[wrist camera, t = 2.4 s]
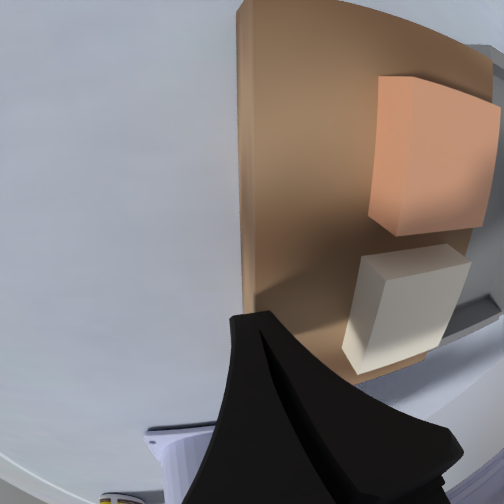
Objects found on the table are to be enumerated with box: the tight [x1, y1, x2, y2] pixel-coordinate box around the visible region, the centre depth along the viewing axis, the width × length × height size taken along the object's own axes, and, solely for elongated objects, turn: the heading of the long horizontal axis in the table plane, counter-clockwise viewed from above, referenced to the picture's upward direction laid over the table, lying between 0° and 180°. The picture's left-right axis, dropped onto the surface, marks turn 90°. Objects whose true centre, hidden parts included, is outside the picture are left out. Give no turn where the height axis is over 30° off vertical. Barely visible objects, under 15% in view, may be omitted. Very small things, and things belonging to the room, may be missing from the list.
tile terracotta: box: [368, 76, 501, 236], centre depth 8 cm, size 4×4×2 cm
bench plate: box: [236, 0, 493, 385], centre depth 11 cm, size 16×10×2 cm, turn 1°
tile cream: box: [342, 244, 472, 375], centre depth 11 cm, size 4×4×2 cm
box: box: [428, 45, 504, 352], centre depth 13 cm, size 17×9×2 cm, turn 1°
